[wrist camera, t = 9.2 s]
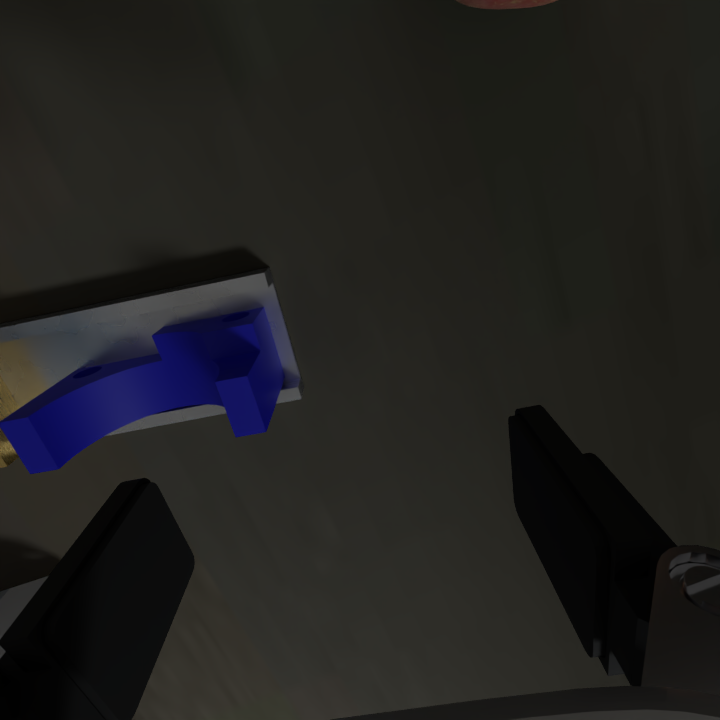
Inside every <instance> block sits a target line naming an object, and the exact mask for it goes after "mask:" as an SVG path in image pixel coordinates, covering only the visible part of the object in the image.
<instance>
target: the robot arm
mask: <svg viewBox="0 0 720 720" xmlns="http://www.w3.org/2000/svg"><path fill="white" fill-rule="evenodd" d="M508 424H509V438H510V452H511V465H512V479H513V493H514V503H515V507H516V511H517V513H518V516H519V518H520V520H521V522H522V524H523V526H524V528H525V530H526V532H527V534H528V536H529V538H530V540H531V542H532V544H533V546H534V548H535V550H536V552H537V554H538V556H539V558H540V560H541V562H542V564H543V566H544V568H545V570H546V572H547V574H548V576H549V578H550V580H551V582H552V584H553V586H554V588H555V590H556V592H557V595H558V597H559V599H560V601H561V603H562V605H563V607H564V609H565V611H566V613H567V615H568V617H569V619H570V621H571V623H572V625H573V627H574V629H575V631H576V633H577V635H578V637H579V639H580V641H581V643H582V645H583V647H584V649H585V651H586V652H587V654H588V655H589V656H590V657H591V658H592V657H599V659H600V661H601V663H602V665H603V667H604V669H605V671H606V673H607V675H608V676H611V675H618V674H625V676H626V677H627V679H628V681H629V683H630V685H632V686H617V687H599V688H582V689H570V690H561V691H553V692H544V693H535V694H526V695H517V696H508V697H499V698H490V699H482V700H474V701H467V702H459V703H451V704H444V705H436V706H429V707H421V708H414V709H406V710H399V711H391V712H384V713H376V714H368V715H361V716H353V717H346V718H339V719H331V720H720V550H717V549H714V548H709V547H704V546H699V545H681V546H676V544H675V543H674V542H673V541H672V540H671V539H670V538H669V537H668V535H667V534H666V533H665V532H664V531H663V530H662V529H661V527H660V526H659V525H658V524H657V523H656V522H655V521H654V520H653V518H652V517H651V516H650V515H649V514H648V513H647V512H646V511H645V509H644V508H643V507H642V506H641V505H640V504H639V503H638V502H637V500H636V499H635V498H634V497H633V496H632V495H631V494H630V493H629V491H628V490H627V489H626V488H625V487H624V486H623V485H622V484H621V482H620V481H619V480H618V479H617V478H616V477H615V476H614V475H613V473H612V472H611V471H610V470H609V469H608V468H607V467H606V466H605V464H604V463H603V462H602V461H601V460H600V459H599V458H598V457H597V456H596V455H595V454H592V453H586V454H582V453H581V452H580V450H579V449H578V448H577V447H576V446H575V444H574V443H573V442H572V441H571V440H570V439H569V437H568V436H567V435H566V434H565V433H564V431H563V430H562V429H561V428H560V427H559V425H558V424H557V423H556V422H555V421H554V420H553V418H552V417H551V416H550V415H549V414H548V412H547V411H546V410H545V409H544V408H543V407H542V406H541V405H536V406H531V407H525V408H520V409H516V411H515V416H510V417H509V419H508ZM193 569H194V556H193V553H192V551H191V549H190V547H189V545H188V544H187V542H186V540H185V538H184V536H183V534H182V532H181V530H180V528H179V526H178V524H177V522H176V520H175V519H174V517H173V515H172V513H171V511H170V509H169V507H168V505H167V503H166V501H165V499H164V497H163V495H162V493H161V492H160V490H159V488H158V486H157V485H156V484H155V483H153V482H150V480H148V479H147V478H142V479H136V480H131V481H125V482H122V483H120V484H119V485H118V486H117V488H116V489H115V490H114V492H113V493H112V494H111V496H110V497H109V498H108V499H107V501H106V502H105V503H104V505H103V506H102V507H101V509H100V510H99V511H98V512H97V514H96V515H95V516H94V518H93V519H92V520H91V522H90V523H89V524H88V525H87V527H86V528H85V529H84V531H83V532H82V533H81V535H80V536H79V537H78V538H77V540H76V541H75V542H74V544H73V545H72V546H71V548H70V549H69V550H68V552H67V553H66V554H65V555H64V557H63V558H62V559H61V561H60V562H59V563H58V565H57V566H56V567H55V568H54V570H53V571H52V572H51V574H50V575H49V576H48V578H47V579H46V580H45V581H44V583H43V584H42V585H41V587H40V588H39V589H38V591H37V592H36V593H35V594H34V596H33V597H32V598H31V600H30V601H29V602H28V604H27V605H26V606H25V608H24V609H23V610H22V611H21V613H20V614H19V615H18V617H17V618H16V619H15V621H14V622H13V623H12V624H11V626H10V627H9V628H8V630H7V631H6V632H5V634H4V635H3V636H2V637H1V639H0V646H1V647H2V648H3V649H4V650H5V651H6V652H5V653H4V654H3V656H2V657H1V658H0V720H131V719H132V718H133V716H134V714H135V712H136V709H137V707H138V705H139V702H140V700H141V697H142V695H143V692H144V690H145V687H146V685H147V682H148V680H149V678H150V675H151V673H152V670H153V668H154V665H155V663H156V660H157V658H158V656H159V653H160V651H161V648H162V646H163V643H164V641H165V638H166V636H167V633H168V631H169V629H170V626H171V624H172V621H173V619H174V616H175V614H176V611H177V609H178V607H179V604H180V602H181V599H182V597H183V594H184V592H185V589H186V587H187V584H188V582H189V580H190V577H191V575H192V572H193Z"/></svg>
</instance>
